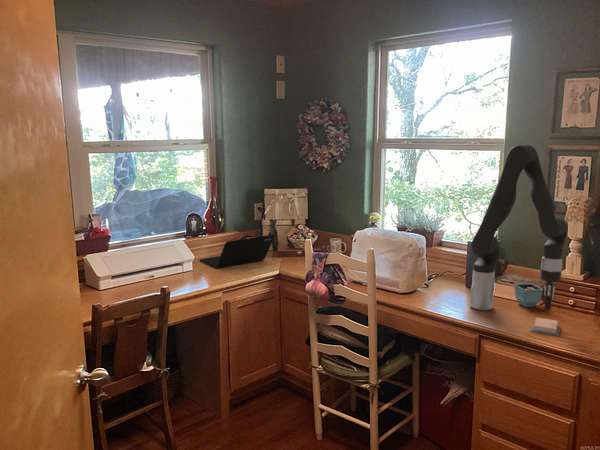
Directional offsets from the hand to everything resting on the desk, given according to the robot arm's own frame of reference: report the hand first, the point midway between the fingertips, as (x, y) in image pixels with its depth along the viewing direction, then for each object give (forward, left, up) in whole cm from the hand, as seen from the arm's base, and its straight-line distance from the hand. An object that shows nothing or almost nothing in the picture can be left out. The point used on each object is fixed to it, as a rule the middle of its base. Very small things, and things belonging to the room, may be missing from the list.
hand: (547, 309), depth 205 cm
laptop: (-172, +25, -8) cm, 174 cm away
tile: (0, +2, -6) cm, 6 cm away
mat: (0, -4, -7) cm, 8 cm away
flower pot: (-9, +23, -7) cm, 26 cm away
